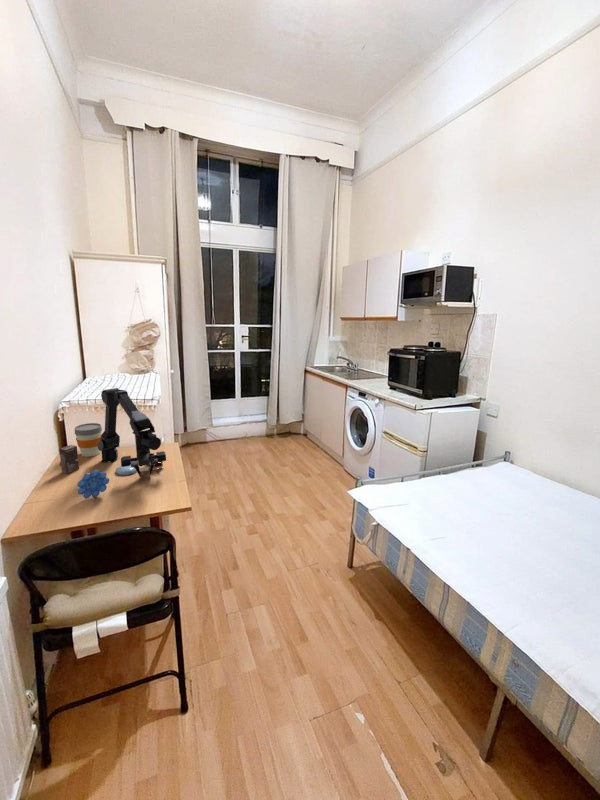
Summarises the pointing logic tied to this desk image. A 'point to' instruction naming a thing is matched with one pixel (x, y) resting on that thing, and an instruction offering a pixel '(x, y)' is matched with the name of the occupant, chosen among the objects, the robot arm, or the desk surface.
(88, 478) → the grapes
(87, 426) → the reusable coffee cup
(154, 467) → the container
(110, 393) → the robot arm
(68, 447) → the box
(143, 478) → the block
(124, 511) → the desk surface
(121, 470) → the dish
